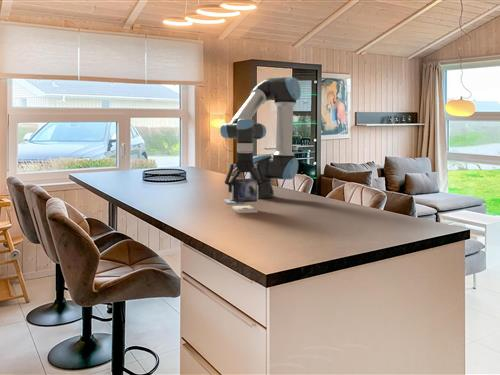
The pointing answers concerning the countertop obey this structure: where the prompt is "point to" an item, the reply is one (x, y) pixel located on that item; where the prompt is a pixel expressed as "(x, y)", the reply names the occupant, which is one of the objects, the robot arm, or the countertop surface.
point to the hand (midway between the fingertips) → (244, 199)
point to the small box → (245, 190)
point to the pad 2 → (244, 209)
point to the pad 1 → (229, 201)
